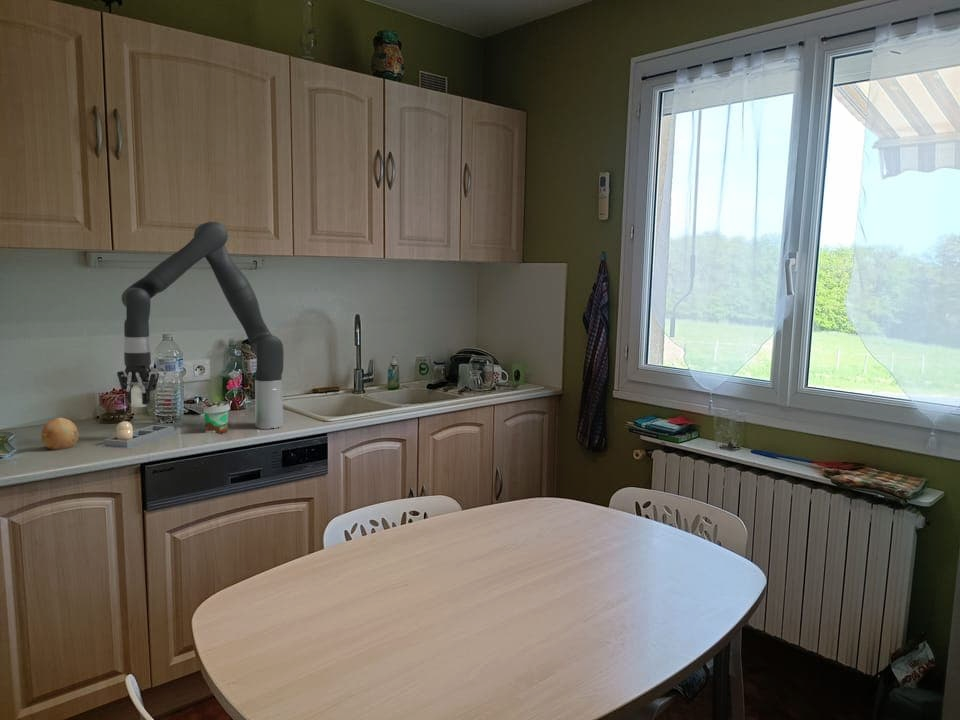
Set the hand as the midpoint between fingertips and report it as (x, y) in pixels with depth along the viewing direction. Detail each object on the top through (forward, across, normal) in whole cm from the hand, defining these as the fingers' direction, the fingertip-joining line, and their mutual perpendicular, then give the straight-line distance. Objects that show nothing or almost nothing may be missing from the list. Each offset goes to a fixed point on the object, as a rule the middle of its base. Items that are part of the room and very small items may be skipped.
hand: (139, 403), depth 214 cm
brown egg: (+11, 0, +7) cm, 13 cm away
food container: (+12, -17, -18) cm, 28 cm away
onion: (+13, +15, +16) cm, 25 cm away
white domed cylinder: (+1, 0, 0) cm, 1 cm away
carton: (+12, 0, 0) cm, 12 cm away
